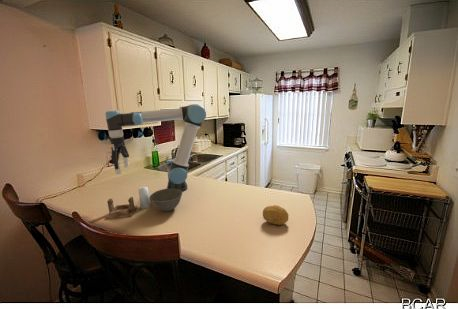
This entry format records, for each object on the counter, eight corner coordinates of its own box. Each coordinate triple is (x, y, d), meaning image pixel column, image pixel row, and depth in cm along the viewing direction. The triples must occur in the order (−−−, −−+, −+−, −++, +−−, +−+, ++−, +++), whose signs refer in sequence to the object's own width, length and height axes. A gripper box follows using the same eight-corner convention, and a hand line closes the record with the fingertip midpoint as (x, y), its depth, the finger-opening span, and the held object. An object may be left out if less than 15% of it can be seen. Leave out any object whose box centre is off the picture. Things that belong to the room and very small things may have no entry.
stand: (137, 207, 137) (135, 193, 135) (131, 216, 125) (129, 202, 123) (114, 209, 136) (112, 195, 134) (106, 218, 124) (103, 204, 122)
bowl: (150, 206, 137) (148, 191, 135) (180, 200, 144) (179, 186, 142) (153, 220, 120) (150, 203, 118) (186, 212, 127) (185, 197, 125)
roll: (151, 203, 141) (148, 186, 138) (149, 207, 135) (146, 189, 132) (142, 204, 140) (139, 187, 137) (139, 208, 135) (137, 190, 132)
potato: (286, 213, 104) (289, 203, 112) (259, 210, 110) (264, 200, 118) (287, 230, 107) (290, 219, 115) (261, 226, 112) (265, 215, 120)
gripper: (118, 134, 142) (124, 165, 147) (100, 141, 118) (107, 177, 123) (130, 133, 143) (135, 164, 148) (114, 140, 118) (121, 176, 123)
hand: (122, 170), depth 135 cm, fingers open, 13 cm apart
